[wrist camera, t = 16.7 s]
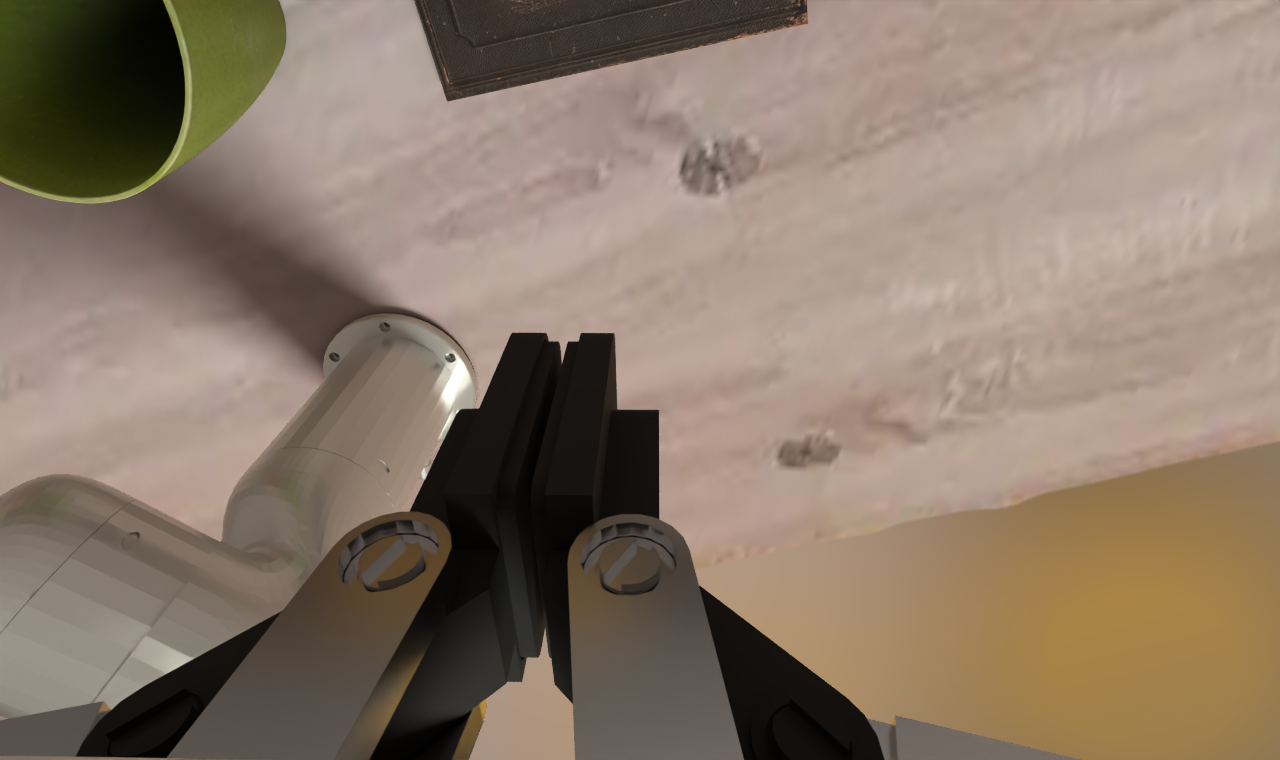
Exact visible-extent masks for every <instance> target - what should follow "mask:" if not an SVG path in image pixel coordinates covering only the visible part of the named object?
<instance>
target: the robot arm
mask: <svg viewBox="0 0 1280 760" xmlns="http://www.w3.org/2000/svg"><path fill="white" fill-rule="evenodd" d="M387 323H388V324H387ZM323 375H324V382H323V383H322V384H321V385H320V387H319V388H318V389H317V390H316V391H315V392H314V394H313V395H312V396H311V397H310V398H309V399H308V401H307V402H306V403H305V404H304V405H303V406H302V408H301V409H300V410H299V411H298V412H297V413H296V415H295V416H294V417H293V418H292V419H291V420H290V422H289V423H288V424H287V425H286V426H285V427H284V429H283V430H282V431H281V432H280V433H279V434H278V436H277V437H276V438H275V439H274V440H273V441H272V443H271V444H270V445H269V446H268V447H267V448H266V450H265V451H264V452H263V453H262V454H261V455H260V457H259V458H258V459H257V460H256V461H255V462H254V463H253V464H252V465H251V466H250V468H249V469H248V470H247V471H246V472H245V474H244V475H243V476H242V477H241V479H240V480H239V481H238V483H237V484H236V486H235V488H234V489H233V492H232V494H231V496H230V498H229V500H228V504H227V507H226V511H225V515H224V520H223V532H222V541H221V542H219V541H217V540H215V539H213V538H211V537H209V536H207V535H205V534H203V533H201V532H199V531H197V530H195V529H194V528H192V527H190V526H188V525H186V524H184V523H182V522H180V521H178V520H176V519H174V518H172V517H170V516H168V515H166V514H164V513H162V512H161V511H159V510H157V509H155V508H153V507H151V506H149V505H147V504H145V503H143V502H141V501H139V500H138V499H136V498H134V497H132V496H130V495H128V494H126V493H124V492H122V491H120V490H117V489H115V488H113V487H111V486H108V485H106V484H104V483H102V482H99V481H96V480H93V479H91V478H87V477H83V476H79V475H71V474H53V475H47V476H42V477H38V478H35V479H33V480H30V481H27V482H25V483H23V484H21V485H19V486H17V487H15V488H13V489H11V490H9V491H8V492H6V493H5V494H3V495H1V496H0V716H2V717H5V718H8V719H5V720H0V760H469V758H470V755H471V753H472V750H473V748H474V745H475V742H476V740H477V737H478V735H479V732H480V730H481V727H482V725H483V722H484V718H485V714H486V709H487V702H486V698H488V697H489V696H490V695H492V694H493V693H494V692H496V691H497V690H498V689H500V688H501V687H502V686H503V685H505V684H506V683H507V682H508V681H509V682H522V679H523V674H524V668H525V664H526V658H527V657H537V658H538V657H539V655H540V652H541V647H542V642H543V636H544V630H545V629H546V637H547V644H548V652H549V657H550V658H552V666H553V674H554V682H555V685H556V686H557V687H558V688H559V689H560V691H562V693H563V694H564V695H565V696H566V697H567V698H568V699H569V700H570V701H571V702H572V703H573V716H574V740H575V741H574V742H575V760H1080V759H1076V758H1072V757H1067V756H1063V755H1059V754H1055V753H1051V752H1046V751H1042V750H1037V749H1034V748H1030V747H1025V746H1021V745H1017V744H1013V743H1008V742H1004V741H1000V740H995V739H992V738H987V737H983V736H979V735H975V734H971V733H966V732H962V731H958V730H954V729H950V728H945V727H941V726H937V725H933V724H929V723H924V722H920V721H916V720H912V719H908V718H903V717H899V716H895V717H894V720H893V723H892V725H891V724H887V723H883V722H879V721H875V720H870V719H867V718H866V717H865V715H864V714H863V713H862V712H861V711H860V710H859V709H858V708H857V707H856V706H855V705H854V704H853V703H852V702H851V701H850V700H849V699H847V698H846V697H845V696H844V695H842V694H841V693H840V692H838V691H837V690H836V689H835V688H833V687H832V686H831V685H829V684H828V683H827V682H825V681H824V680H823V679H821V678H820V677H819V676H818V675H816V674H815V673H813V672H812V671H811V670H810V669H808V668H807V667H806V666H804V665H803V664H802V663H800V662H799V661H798V660H796V659H795V658H794V657H792V656H791V655H790V654H788V653H787V652H786V651H785V650H783V649H782V648H781V647H779V646H778V645H777V644H775V643H774V642H773V641H772V640H770V639H769V638H768V637H766V636H765V635H764V634H762V633H761V632H760V631H758V630H757V629H756V628H755V627H753V626H752V625H751V624H749V623H748V622H747V621H745V620H744V619H743V618H741V617H740V616H739V615H737V614H736V613H735V612H734V611H732V610H731V609H730V608H728V607H727V606H726V605H724V604H723V603H722V602H720V601H719V600H718V599H716V598H715V597H714V596H713V595H711V594H710V593H709V592H707V591H706V590H705V589H703V588H702V587H701V586H699V585H698V580H697V577H696V573H695V569H694V565H693V561H692V557H691V553H690V550H689V548H688V546H687V544H686V542H685V540H684V537H683V536H682V535H681V534H680V533H679V532H678V531H677V530H676V529H675V528H673V527H672V526H671V525H669V524H667V523H665V522H663V521H661V520H659V410H617V389H616V356H615V335H614V333H581V335H580V339H579V342H568V344H567V347H566V351H565V355H564V359H563V363H562V362H561V350H560V344H559V342H549V341H548V336H547V334H546V333H512V334H511V336H510V338H509V340H508V343H507V345H506V347H505V350H504V352H503V354H502V357H501V359H500V361H499V364H498V366H497V368H496V371H495V373H494V375H493V378H492V380H491V382H490V385H489V387H488V389H487V392H486V394H485V396H484V399H483V401H482V403H481V406H480V408H479V409H474V406H475V402H476V399H477V382H476V376H475V373H474V370H473V368H472V365H471V363H470V361H469V360H468V358H467V356H466V355H465V353H464V352H463V350H462V349H461V348H460V347H459V346H458V345H457V344H456V343H455V341H454V340H452V339H451V338H450V337H449V336H448V335H446V334H445V333H444V332H443V331H441V330H439V329H438V328H436V327H434V326H433V325H431V324H429V323H427V322H424V321H422V320H419V319H417V318H414V317H410V316H405V315H401V314H388V313H381V314H374V315H368V316H365V317H362V318H359V319H356V320H355V321H353V322H351V323H350V324H348V325H346V326H345V327H344V328H343V329H342V330H341V331H340V332H339V333H338V334H337V335H336V336H335V337H334V339H333V340H332V341H331V342H330V344H329V346H328V348H327V350H326V352H325V355H324V362H323ZM443 440H444V441H443ZM440 441H443V443H442V445H441V447H440V449H439V451H438V453H437V455H436V457H435V459H434V462H433V464H431V461H430V457H431V455H432V453H433V451H434V449H435V447H436V445H437V443H438V442H440ZM418 479H425V480H424V482H423V485H422V487H421V489H420V491H419V493H418V495H417V497H416V499H415V501H414V503H413V506H412V508H411V510H410V512H402V511H403V509H404V507H405V505H406V503H407V501H408V499H409V497H410V495H411V493H412V491H413V489H414V487H415V485H416V483H417V481H418Z"/></svg>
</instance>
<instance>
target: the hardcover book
mask: <svg viewBox="0 0 1280 760" xmlns="http://www.w3.org/2000/svg"><path fill="white" fill-rule="evenodd" d="M415 4H416V7H417V10H418V13H419V16H420V19H421V22H422V25H423V28H424V31H425V34H426V37H427V40H428V44H429V47H430V50H431V53H432V56H433V59H434V62H435V65H436V68H437V71H438V74H439V77H440V80H441V84H442V87H443V90H444V93H445V96H446V99H447V101H452V100H456V99H461V98H465V97H470V96H475V95H479V94H484V93H489V92H493V91H498V90H502V89H507V88H512V87H516V86H521V85H526V84H530V83H535V82H539V81H544V80H549V79H553V78H558V77H563V76H567V75H572V74H576V73H581V72H586V71H590V70H595V69H600V68H604V67H609V66H613V65H618V64H623V63H627V62H632V61H636V60H641V59H646V58H650V57H655V56H660V55H664V54H669V53H673V52H678V51H683V50H687V49H692V48H697V47H701V46H706V45H710V44H715V43H720V42H724V41H729V40H734V39H738V38H743V37H747V36H752V35H757V34H761V33H766V32H771V31H775V30H780V29H784V28H789V27H794V26H798V25H803V24H808V16H807V0H415Z"/></svg>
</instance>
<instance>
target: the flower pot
mask: <svg viewBox="0 0 1280 760" xmlns="http://www.w3.org/2000/svg"><path fill="white" fill-rule="evenodd" d="M285 44H286V25H285V20H284V16H283V12H282V9H281V6H280V4H279V1H278V0H0V181H1V182H3V183H5V184H7V185H9V186H12V187H15V188H17V189H20V190H23V191H25V192H28V193H31V194H34V195H38V196H41V197H45V198H49V199H54V200H59V201H66V202H74V203H105V202H112V201H117V200H121V199H124V198H128V197H130V196H133V195H135V194H137V193H139V192H141V191H143V190H145V189H147V188H148V187H150V186H151V185H153V184H154V183H156V182H157V181H159V180H161V179H162V178H164V177H165V176H167V175H168V174H170V173H171V172H173V171H174V170H176V169H177V168H179V167H180V166H182V165H183V164H184V163H186V162H187V161H189V160H190V159H192V158H193V157H195V156H196V155H197V154H199V153H200V152H201V151H203V150H204V149H205V148H207V147H208V146H209V145H210V144H212V143H213V142H214V141H215V140H216V139H218V138H219V137H220V136H221V135H222V134H224V133H225V132H226V131H227V130H228V129H229V128H230V127H231V126H232V125H233V124H234V123H235V122H236V121H237V120H238V119H239V118H240V117H241V116H242V115H243V114H244V113H245V112H246V111H247V110H248V108H249V107H250V106H251V105H252V104H253V103H254V101H255V100H256V99H257V98H258V96H259V95H260V94H261V92H262V91H263V90H264V88H265V87H266V85H267V84H268V82H269V81H270V79H271V77H272V76H273V74H274V72H275V70H276V68H277V67H278V65H279V62H280V60H281V58H282V56H283V53H284V49H285Z"/></svg>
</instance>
